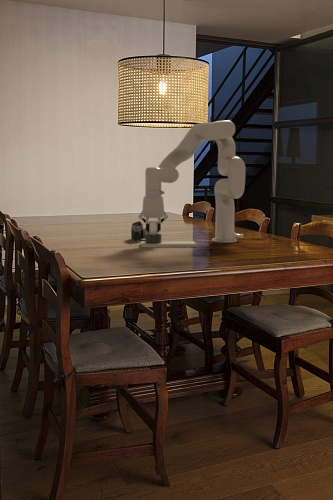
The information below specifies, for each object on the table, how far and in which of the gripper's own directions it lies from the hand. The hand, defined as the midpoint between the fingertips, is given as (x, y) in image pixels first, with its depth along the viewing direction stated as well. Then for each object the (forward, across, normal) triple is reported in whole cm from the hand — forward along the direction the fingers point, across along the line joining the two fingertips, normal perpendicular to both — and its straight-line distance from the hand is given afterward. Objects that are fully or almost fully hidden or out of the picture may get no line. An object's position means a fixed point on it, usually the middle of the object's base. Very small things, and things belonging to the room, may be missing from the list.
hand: (153, 231), depth 272 cm
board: (+7, -7, 0) cm, 10 cm away
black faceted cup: (+5, 0, 0) cm, 5 cm away
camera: (+7, +6, -19) cm, 21 cm away
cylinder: (+2, 0, 0) cm, 2 cm away
